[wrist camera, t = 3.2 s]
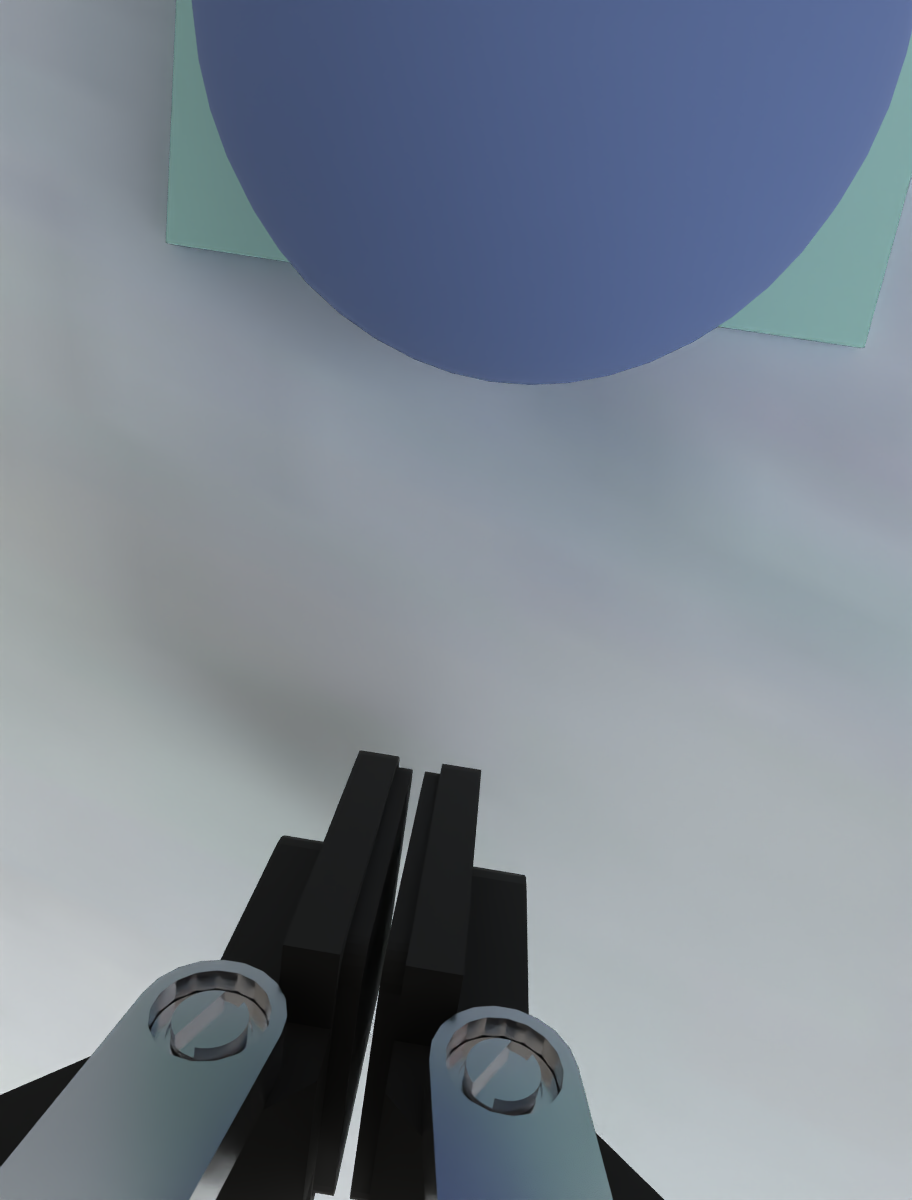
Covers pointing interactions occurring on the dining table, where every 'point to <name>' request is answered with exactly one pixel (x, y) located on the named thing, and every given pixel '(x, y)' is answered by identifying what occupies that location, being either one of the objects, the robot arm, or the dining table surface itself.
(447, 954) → the robot arm
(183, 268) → the dining table surface
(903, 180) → the panel
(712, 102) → the ball
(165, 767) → the dining table surface
